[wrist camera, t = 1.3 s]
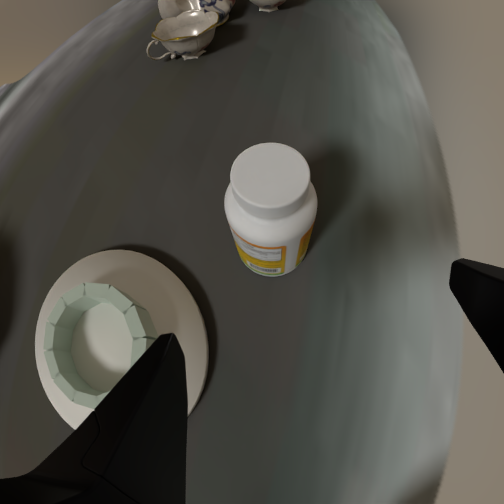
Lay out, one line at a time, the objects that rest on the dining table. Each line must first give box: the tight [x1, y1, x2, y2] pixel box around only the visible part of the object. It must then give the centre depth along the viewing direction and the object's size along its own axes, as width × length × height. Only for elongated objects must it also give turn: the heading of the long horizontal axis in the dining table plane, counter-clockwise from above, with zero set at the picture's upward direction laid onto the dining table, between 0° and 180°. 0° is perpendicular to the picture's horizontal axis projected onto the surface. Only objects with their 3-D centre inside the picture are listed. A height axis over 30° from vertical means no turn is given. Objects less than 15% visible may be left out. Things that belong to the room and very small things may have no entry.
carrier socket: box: [35, 250, 209, 430], centre depth 20 cm, size 16×16×4 cm
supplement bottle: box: [224, 143, 317, 276], centre depth 19 cm, size 5×5×10 cm
